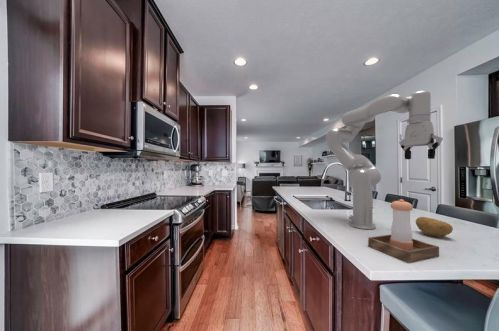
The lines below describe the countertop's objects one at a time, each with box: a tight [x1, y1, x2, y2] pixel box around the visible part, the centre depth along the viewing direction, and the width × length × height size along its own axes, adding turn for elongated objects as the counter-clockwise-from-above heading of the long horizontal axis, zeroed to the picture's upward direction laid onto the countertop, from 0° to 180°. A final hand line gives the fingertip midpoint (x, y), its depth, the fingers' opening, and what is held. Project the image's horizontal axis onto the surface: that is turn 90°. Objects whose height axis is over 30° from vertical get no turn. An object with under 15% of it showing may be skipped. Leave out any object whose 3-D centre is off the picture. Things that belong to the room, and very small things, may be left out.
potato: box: [415, 216, 454, 238], centre depth 102 cm, size 10×14×8 cm
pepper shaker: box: [390, 198, 414, 251], centre depth 83 cm, size 7×7×19 cm
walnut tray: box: [367, 233, 440, 264], centre depth 83 cm, size 16×16×4 cm
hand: (419, 158), depth 95 cm, fingers open, 9 cm apart
